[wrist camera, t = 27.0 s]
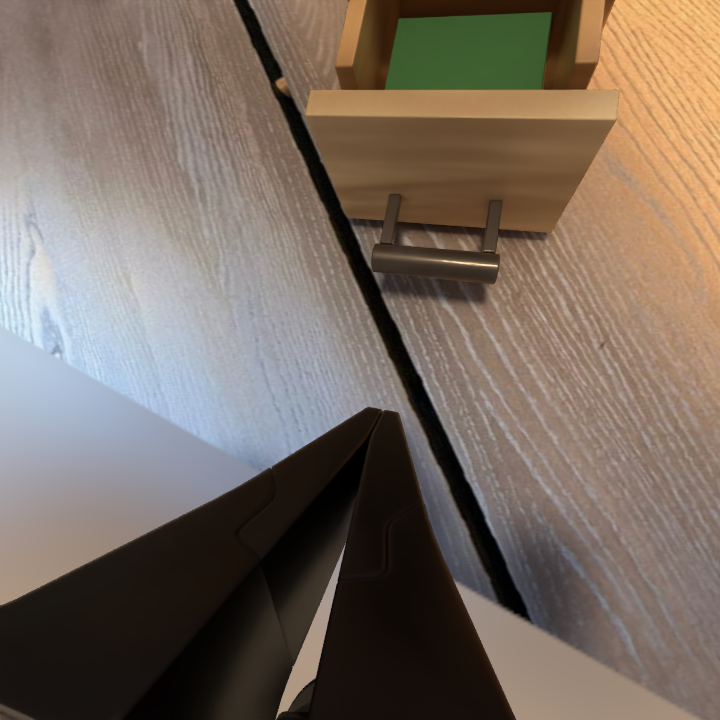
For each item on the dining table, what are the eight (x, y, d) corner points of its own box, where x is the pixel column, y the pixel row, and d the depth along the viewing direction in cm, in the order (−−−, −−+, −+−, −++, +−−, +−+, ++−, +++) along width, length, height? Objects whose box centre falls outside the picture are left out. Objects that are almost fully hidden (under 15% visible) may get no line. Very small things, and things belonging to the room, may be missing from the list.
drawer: (542, 306, 20) (606, 231, 13) (333, 282, 23) (282, 208, 15) (575, 34, 23) (645, -167, 15) (383, 39, 25) (360, -130, 17)
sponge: (521, 161, 21) (540, 99, 17) (391, 156, 22) (382, 98, 18) (531, 87, 21) (552, 11, 17) (404, 88, 23) (398, 17, 19)
